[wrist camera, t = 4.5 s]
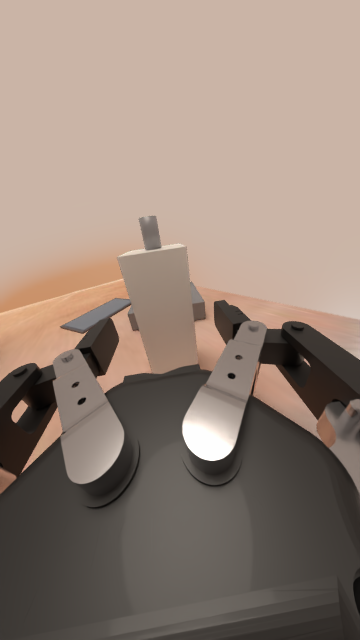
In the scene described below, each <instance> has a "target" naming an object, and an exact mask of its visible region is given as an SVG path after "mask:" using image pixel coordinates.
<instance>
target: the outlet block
mask: <svg viewBox="0 0 360 640" xmlns="http://www.w3.org/2000/svg"><path fill="white" fill-rule="evenodd" d="M190 286H191V296H192V306H193V316H194V320H200V319H205V302H204V300H203V299H202V297H201V295H200V294H199V292H198V291H197V289H196V287H195V286H194V284H193V283H192V282H190ZM128 317H129V320H130V323H131V326H132V329H133V330H139V327H138V324H137V321H136V318H135V314H134V311H133V308H132V305H131V308H130V310H129V312H128Z"/></svg>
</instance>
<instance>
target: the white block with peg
mask: <svg viewBox="0 0 360 640" xmlns="http://www.w3.org/2000/svg"><path fill="white" fill-rule="evenodd" d="M139 222H140V226H141V231H142V235H143V241H144V245H145V249H139V250H133V251H129V252H127V253H125V254H122V255H120V256H118V257H117V259H118V262H119V266H120V269H121V272H122V275H123V279H124V282H125V285H126V288H127V292H128V295H129V298H130V301H131V305H132V308H133V311H134V314H135V318H136V321H137V324H138V327H139V331H140V334H141V337H142V340H143V344H144V347H145V350H146V354H147V357H148V360H149V363H150V367H151V370H152V373H153V374H163V373H166V372H169V371H171V370H174V369H177V368H179V367H183V366H189V365H195V364H198V355H197V345H196V336H195V326H194V316H193V306H192V296H191V286H190V278H189V268H188V257H187V247H186V246H184V245H182V244H180V243H179V244H172V245H166V246H161V242H160V236H159V231H158V224H157V219H156V216H148V217H142V218H139Z"/></svg>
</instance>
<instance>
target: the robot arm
mask: <svg viewBox="0 0 360 640" xmlns="http://www.w3.org/2000/svg"><path fill="white" fill-rule="evenodd" d="M214 321H215V326H216V328H217V330H218V331H219V333H220V335H221V337H222V338H223V340H224V342H225V343H226V347H225V349H224V351H223V353H222V355H221V356H220V358H219V360H218V362H217V364H216V366H215V368H214V370H213V372H212V371H208V370H201V369H200V367H199V364H195V365H189V366H183V367H179V368H177V369H174V370H171V371H169V372H166V373H163V374H149V373H141V374H135V375H129V376H125V377H124V380H123V383H121V384H119V385H117V386H115V387H113V388H111V389H110V390H109V391H107V392H106V393H105V394H104V392H103V390H102V388H101V387H100V385H99V383H98V381H97V380H96V378H97V376H102V375H105V374H106V372H107V369H108V367H109V365H110V362H111V360H112V357H113V355H114V352H115V350H116V348H117V345H118V343H119V336H118V333H117V331H116V328H115V326H114V323H113V321H112V319H111V318H107V319H101V320H99V321H98V323H97V324H96V325H95V327H93V328H92V329H90V330H89V331H88V332H87V333H86V335H85V336H84V337H83V338H82V340H81V341H80V342H79V344H78V345H77V346H76V347H75V349H73V350H69V351H66V352H64V353H62V354H60V355H59V356H58V357H57V358H55V360H54V361H53V365H50V366H47V367H44V368H41V369H40V368H39V367H38V366H37V364H35V363H30V364H26V365H23V366H21V367H19V368H17V369H15V370H13V371H12V372H11V373H9V374H8V375H7V376H6V377H5V378H4V379H3V380H2V381H1V382H0V640H360V360H359V359H358V358H356V357H355V356H353V355H352V354H350V353H349V352H347V351H346V350H344V349H343V348H341V347H340V346H339V345H337V344H336V343H334V342H333V341H331V340H330V339H328V338H327V337H325V336H324V335H322V334H321V333H320V332H318V331H317V330H315V329H314V328H312V327H311V326H309V325H307V324H305V323H302V322H296V321H289V322H285V323H284V324H283V325H282V329H267V327H266V325H265V324H263V323H261V322H258V321H251V320H250V319H249V318H248V317H247V316H246V315H245V314H243V312H242V311H241V310H240V309H239V308H238V307H236V306H233V305H229V304H228V303H227V302H226V301H225V300H222V301H215V302H214ZM304 358H305V359H306V360H307V361H308V362H309V364H310V366H309V365H308V364H307V363H306V362H305V361H304ZM261 364H273V365H276V367H277V368H278V369H279V370H280V372H281V373H282V374H283V376H284V377H285V378H286V380H287V381H288V382H289V383H290V385H291V386H292V387H293V389H294V390H295V391H296V393H297V394H298V395H299V396H300V398H301V399H302V400H303V402H304V403H305V404H306V406H307V407H308V408H309V410H310V411H311V412H312V413H313V415H314V416H315V417H316V419H317V420H318V422H317V431H318V434H319V436H320V438H321V439H322V441H323V442H322V441H321V440H319V439H318V438H317V437H316V436H314V435H313V434H311V433H310V432H309V431H307V430H305V429H304V428H302V427H301V426H299V425H298V424H296V423H295V422H293V421H291V420H290V419H288V418H287V417H285V416H284V415H282V414H281V413H279V412H277V411H276V410H274V409H273V408H271V407H270V406H268V405H267V404H265V403H263V402H262V401H260V400H259V399H257V398H256V397H254V393H255V388H256V383H257V379H258V374H259V370H260V366H261ZM21 400H23V401H24V402H25V403H26V404H27V405H28V408H27V409H26V411H25V412H24V413H23V415H22V416H21V418H20V419H19V420H18V422H17V423H15V422H13V421H12V418H11V415H12V412H13V410H14V408H15V407H16V406H17V405H18V403H19V402H20V401H21ZM57 407H58V410H59V415H60V420H61V425H62V430H63V433H62V434H61V436H60V437H59V438H58V439H57V440H56V441H55V442H54V443H53V444H52V445H51V446H49V447H48V448H47V449H46V450H45V451H44V452H43V453H42V454H41V455H40V456H39V457H38V458H37V459H36V460H35V461H34V462H33V463H32V464H31V465H30V466H29V467H28V468H27V469H26V470H25V471H24V472H22V470H23V468H24V466H25V465H26V463H27V461H28V459H29V457H30V456H31V454H32V452H33V450H34V448H35V447H36V445H37V443H38V441H39V439H40V438H41V436H42V434H43V432H44V430H45V429H46V427H47V425H48V423H49V421H50V420H51V418H52V416H53V414H54V412H55V411H56V409H57ZM21 472H22V473H21Z"/></svg>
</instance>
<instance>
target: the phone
mask: <svg viewBox="0 0 360 640" xmlns="http://www.w3.org/2000/svg"><path fill="white" fill-rule="evenodd" d="M130 305H131V301H130V299H119V298H115V299H113V300H111V301H109V302H107V303H105V304H103V305H101V306H99V307H97V308H95V309H93V310H91V311H90V312H88V313H86V314H84V315H82V316H80V317H78V318H76V319H74V320H72V321H70V322H68V323H66V324H64V325H62V326H60V327H61V328H63V329H67V330H71V331H75V332H78V333H82V334H83V333H85V332H87V331H88V330H90V329H92V328H93V327H95V325H96V324H97V323H98V321H99V320H101V319H107V318H110V317H112V316H113V315H115V314H117V313H118V312H120V311H121V310H123V309H125V308H126V307H128V306H130Z"/></svg>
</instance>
